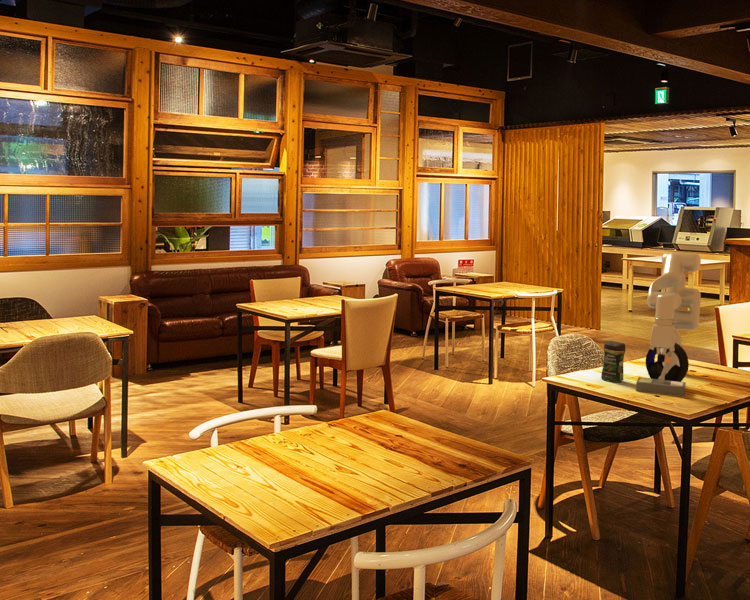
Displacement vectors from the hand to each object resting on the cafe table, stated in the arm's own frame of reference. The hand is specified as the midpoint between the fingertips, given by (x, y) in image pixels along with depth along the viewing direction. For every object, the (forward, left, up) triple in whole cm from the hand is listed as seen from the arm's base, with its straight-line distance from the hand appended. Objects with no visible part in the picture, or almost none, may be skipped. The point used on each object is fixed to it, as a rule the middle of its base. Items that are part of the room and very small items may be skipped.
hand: (660, 363), depth 343 cm
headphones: (-14, +2, -13) cm, 19 cm away
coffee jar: (-10, -21, -13) cm, 27 cm away
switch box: (0, +1, -13) cm, 13 cm away
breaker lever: (0, +1, -7) cm, 7 cm away
